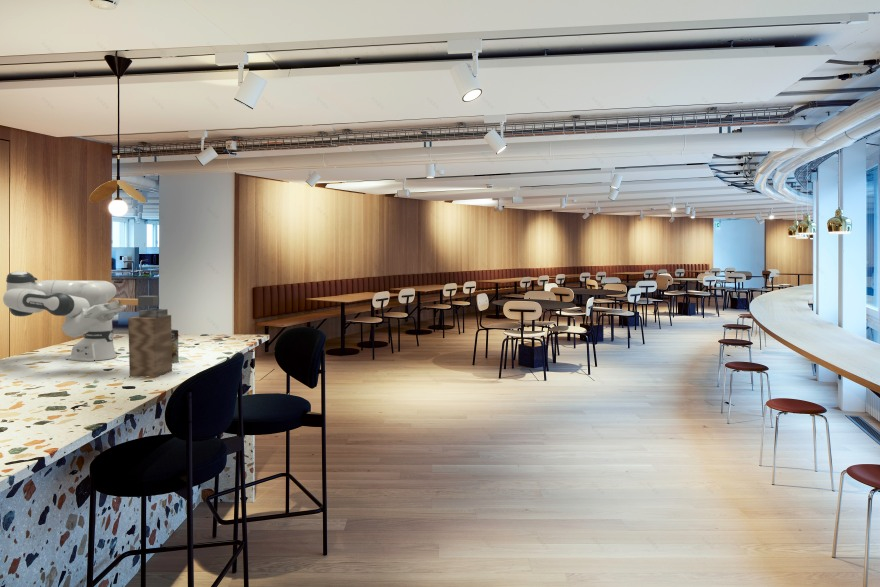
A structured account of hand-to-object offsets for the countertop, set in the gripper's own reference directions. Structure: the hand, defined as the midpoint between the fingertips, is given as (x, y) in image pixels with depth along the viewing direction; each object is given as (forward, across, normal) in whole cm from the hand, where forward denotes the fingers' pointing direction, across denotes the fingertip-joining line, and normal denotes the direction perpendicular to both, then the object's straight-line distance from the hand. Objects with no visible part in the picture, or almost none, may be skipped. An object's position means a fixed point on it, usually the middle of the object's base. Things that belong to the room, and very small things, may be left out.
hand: (122, 300), depth 270 cm
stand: (-5, 0, +35) cm, 35 cm away
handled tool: (+4, 0, +4) cm, 6 cm away
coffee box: (-10, +25, +32) cm, 42 cm away
